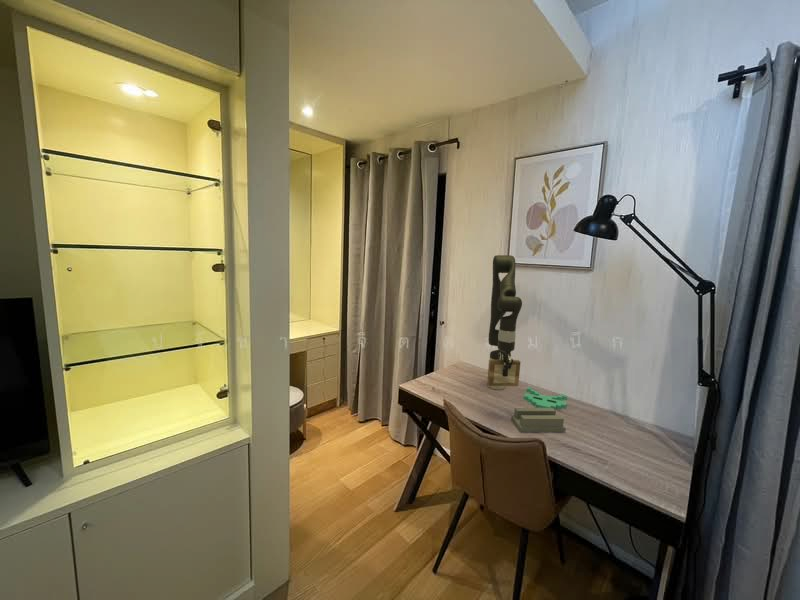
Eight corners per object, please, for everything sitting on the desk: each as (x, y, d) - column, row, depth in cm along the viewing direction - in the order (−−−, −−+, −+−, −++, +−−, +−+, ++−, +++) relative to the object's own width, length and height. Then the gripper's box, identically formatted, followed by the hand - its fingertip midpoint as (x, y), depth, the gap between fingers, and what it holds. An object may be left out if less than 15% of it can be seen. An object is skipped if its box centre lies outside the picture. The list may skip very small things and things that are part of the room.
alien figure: (527, 390, 190) (521, 405, 173) (527, 387, 190) (522, 401, 173) (566, 399, 181) (565, 415, 164) (566, 395, 181) (565, 410, 164)
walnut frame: (487, 383, 160) (489, 359, 158) (516, 383, 161) (518, 359, 159) (489, 386, 158) (490, 361, 156) (518, 386, 158) (520, 361, 156)
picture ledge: (511, 419, 158) (512, 407, 157) (552, 419, 159) (554, 407, 158) (520, 432, 147) (521, 419, 146) (565, 432, 148) (566, 419, 147)
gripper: (493, 335, 162) (491, 369, 165) (503, 343, 149) (500, 380, 151) (509, 335, 163) (506, 369, 166) (520, 343, 149) (517, 380, 152)
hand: (503, 374), depth 159 cm, fingers closed on walnut frame, 2 cm apart
